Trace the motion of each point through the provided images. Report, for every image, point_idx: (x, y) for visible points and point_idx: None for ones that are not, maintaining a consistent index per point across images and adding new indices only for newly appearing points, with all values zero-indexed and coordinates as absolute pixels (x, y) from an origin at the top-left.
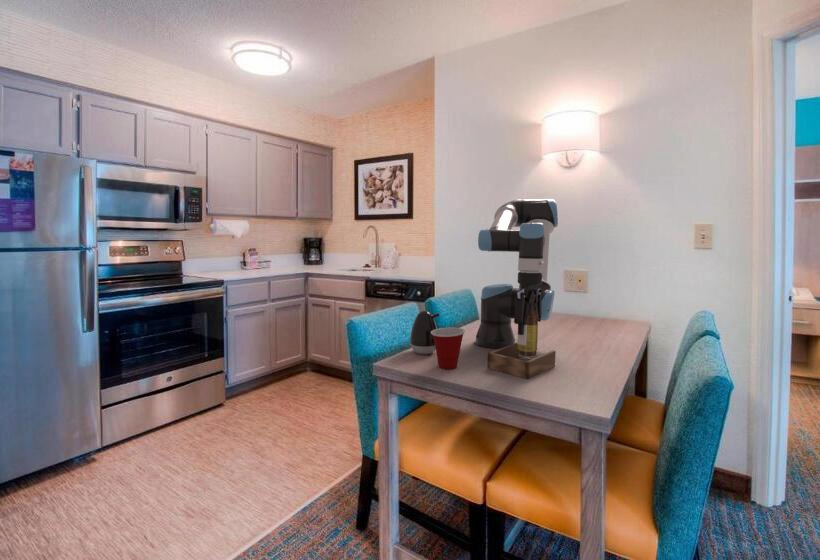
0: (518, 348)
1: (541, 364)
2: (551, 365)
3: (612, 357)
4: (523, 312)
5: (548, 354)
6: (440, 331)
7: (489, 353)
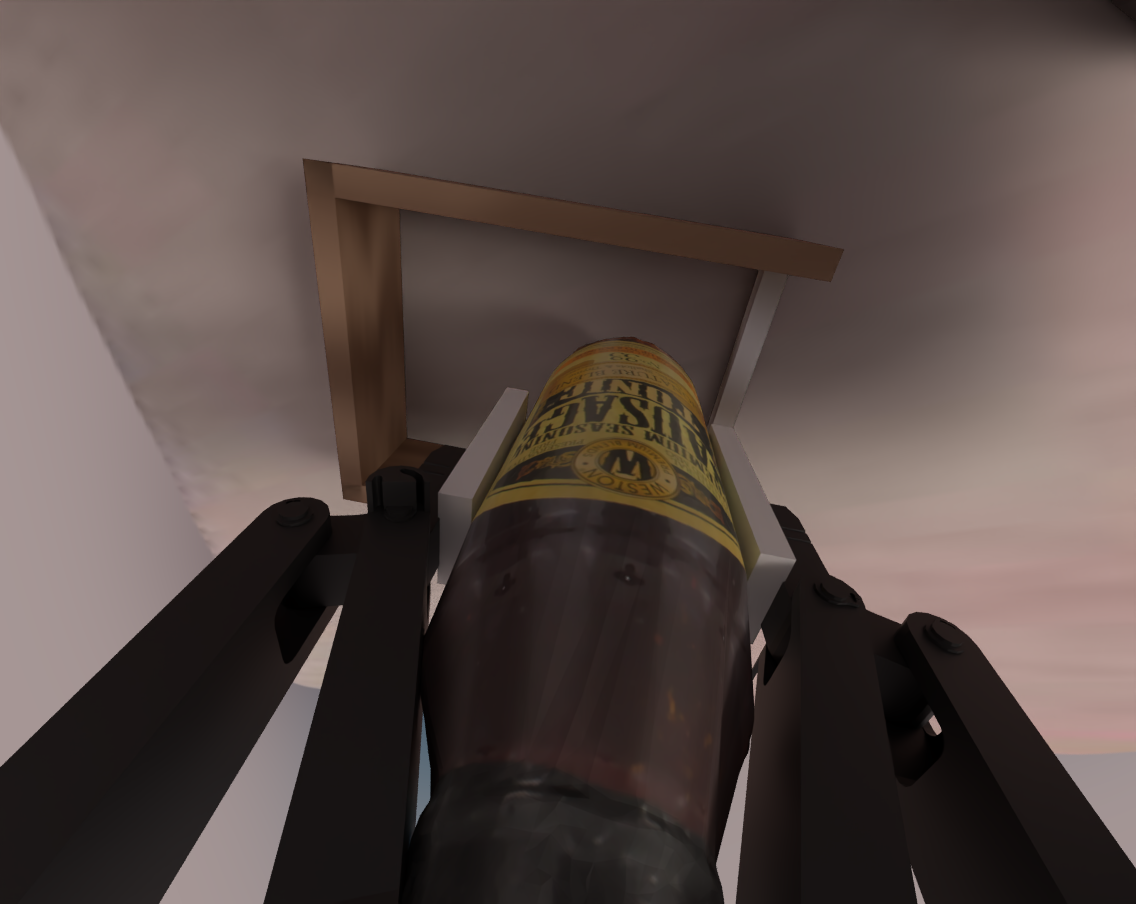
0: (555, 369)
1: None
2: None
3: (1021, 697)
4: (245, 748)
5: None
6: None
7: (307, 178)
